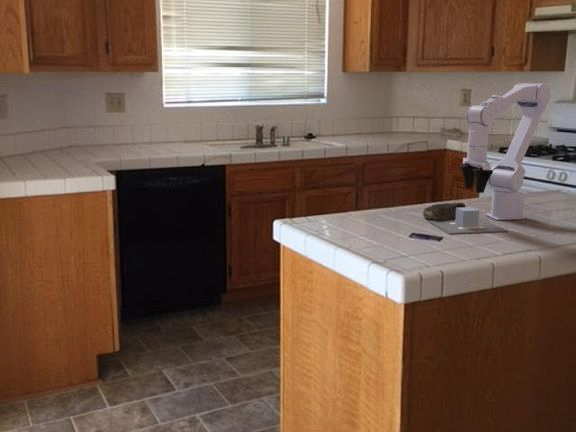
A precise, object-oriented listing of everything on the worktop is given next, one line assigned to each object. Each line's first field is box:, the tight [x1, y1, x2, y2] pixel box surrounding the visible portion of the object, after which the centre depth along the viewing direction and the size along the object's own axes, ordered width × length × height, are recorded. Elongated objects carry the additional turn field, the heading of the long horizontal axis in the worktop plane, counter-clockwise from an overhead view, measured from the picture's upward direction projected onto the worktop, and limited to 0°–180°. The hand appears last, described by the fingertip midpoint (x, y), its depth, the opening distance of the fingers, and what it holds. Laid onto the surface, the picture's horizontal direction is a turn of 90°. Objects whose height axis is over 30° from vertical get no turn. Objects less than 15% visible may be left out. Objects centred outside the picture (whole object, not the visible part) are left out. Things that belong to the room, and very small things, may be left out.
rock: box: [422, 201, 467, 220], centre depth 205 cm, size 8×16×4 cm, turn 123°
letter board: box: [427, 218, 508, 235], centre depth 194 cm, size 18×16×1 cm
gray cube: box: [454, 206, 480, 228], centre depth 193 cm, size 5×5×5 cm
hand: (474, 190), depth 196 cm, fingers open, 7 cm apart
